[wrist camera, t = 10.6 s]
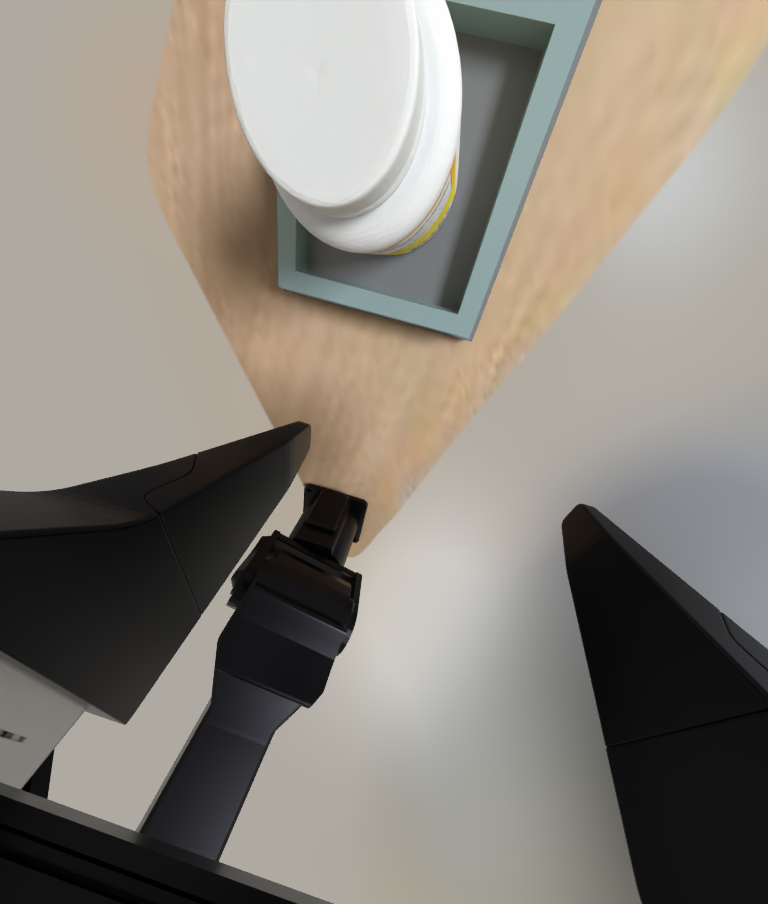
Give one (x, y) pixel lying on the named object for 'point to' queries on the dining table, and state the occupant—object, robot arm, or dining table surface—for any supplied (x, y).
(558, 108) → the tray
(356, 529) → the robot arm
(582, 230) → the dining table surface
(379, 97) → the supplement bottle
